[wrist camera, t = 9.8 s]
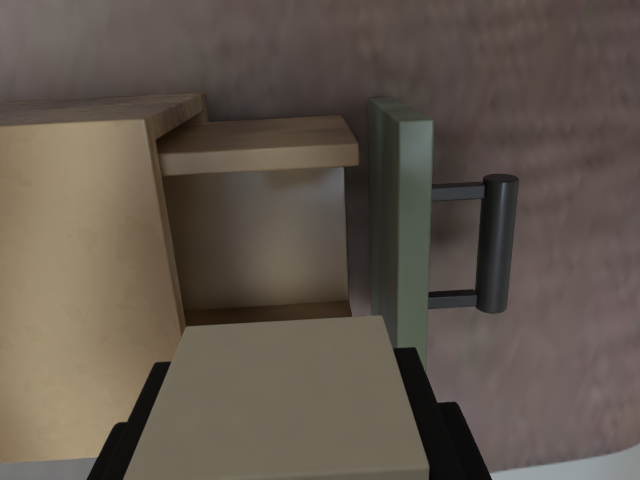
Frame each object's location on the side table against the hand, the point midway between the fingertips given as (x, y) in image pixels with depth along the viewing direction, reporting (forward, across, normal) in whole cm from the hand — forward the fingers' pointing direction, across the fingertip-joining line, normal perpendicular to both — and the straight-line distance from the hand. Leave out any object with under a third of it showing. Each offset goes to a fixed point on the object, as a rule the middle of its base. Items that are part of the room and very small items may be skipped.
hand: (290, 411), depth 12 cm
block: (0, 0, 0) cm, 0 cm away
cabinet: (+17, +11, 0) cm, 20 cm away
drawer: (+16, 0, 0) cm, 16 cm away
